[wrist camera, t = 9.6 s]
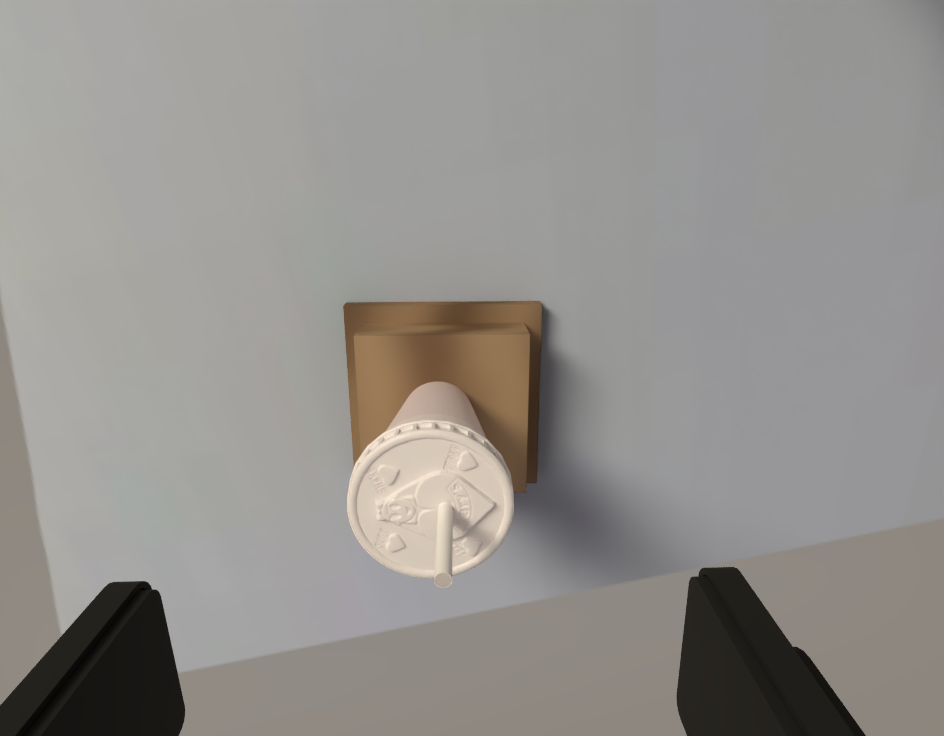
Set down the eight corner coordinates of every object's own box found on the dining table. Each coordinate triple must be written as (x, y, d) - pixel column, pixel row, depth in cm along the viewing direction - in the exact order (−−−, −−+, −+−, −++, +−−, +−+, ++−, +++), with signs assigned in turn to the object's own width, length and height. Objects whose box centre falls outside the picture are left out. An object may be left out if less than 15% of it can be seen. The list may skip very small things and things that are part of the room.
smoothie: (500, 465, 32) (531, 660, 19) (383, 472, 32) (331, 673, 19) (495, 353, 30) (527, 480, 17) (371, 359, 30) (305, 493, 17)
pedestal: (539, 301, 34) (550, 315, 30) (534, 475, 37) (543, 507, 33) (346, 302, 34) (332, 316, 30) (357, 477, 37) (346, 511, 33)
